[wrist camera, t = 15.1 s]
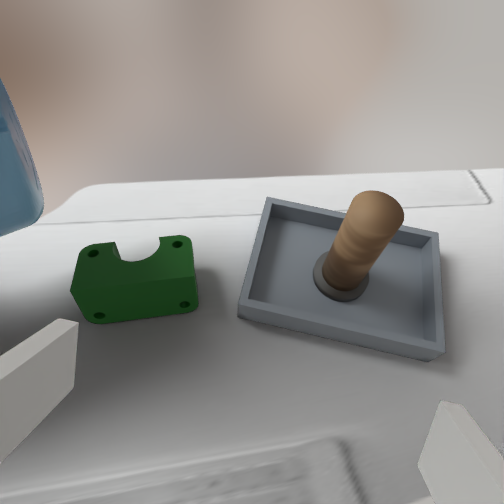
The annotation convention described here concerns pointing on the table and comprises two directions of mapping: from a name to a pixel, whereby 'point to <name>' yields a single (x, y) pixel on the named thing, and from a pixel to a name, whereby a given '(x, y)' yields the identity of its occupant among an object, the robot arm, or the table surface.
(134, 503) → the table surface
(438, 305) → the tray
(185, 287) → the clamp
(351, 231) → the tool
